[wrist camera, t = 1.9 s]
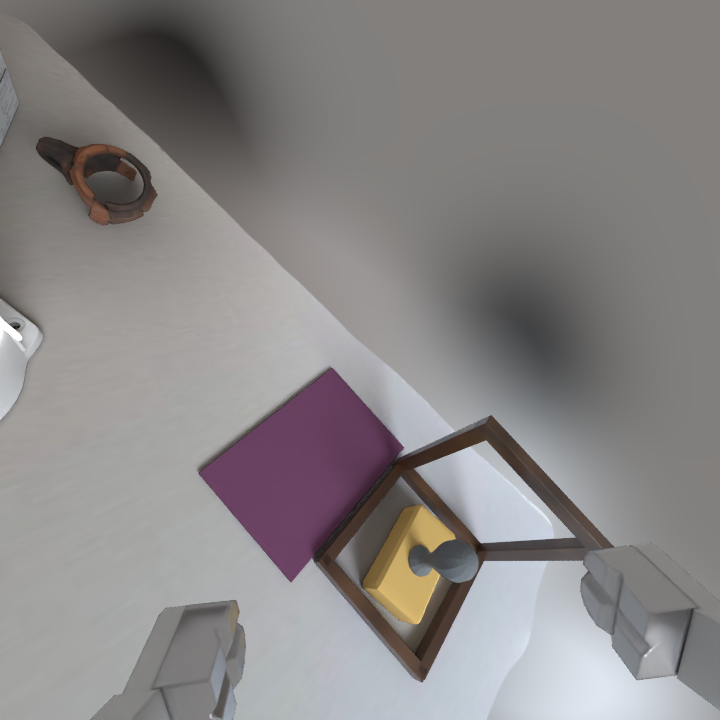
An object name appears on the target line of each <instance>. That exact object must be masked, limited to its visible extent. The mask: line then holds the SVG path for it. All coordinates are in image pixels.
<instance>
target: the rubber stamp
mask: <svg viewBox="0 0 720 720" xmlns="http://www.w3.org/2000/svg"><path fill="white" fill-rule="evenodd" d="M478 564H479V561H478V557H477V554H476V552H475V551H474V549H473V548H472V547H471V545H469V544H468V543H466V542H464V541H462V540H459V539H455V534H454V533H453V532H452V531H450V530H449V529H448V528H447V527H446V526H445V525H444V524H443V523H442V522H441V521H439V520H438V519H437V518H436V517H435V516H434V515H433V514H432V513H431V512H429V511H428V510H427V509H426V508H425V507H424V506H423V505H422V504H419V505H414V506H410V507H406V508H403V510H402V512H401V514H400V516H399V518H398V519H397V521H396V523H395V525H394V527H393V528H392V530H391V532H390V534H389V536H388V537H387V539H386V541H385V543H384V545H383V546H382V548H381V550H380V552H379V554H378V556H377V557H376V559H375V561H374V563H373V565H372V566H371V568H370V570H369V572H368V574H367V575H366V577H365V579H364V581H363V586H362V588H363V589H365V590H366V591H367V592H368V593H369V594H370V595H371V596H372V597H373V598H375V599H376V600H377V601H378V602H379V603H380V604H381V605H382V606H383V607H385V608H386V609H387V610H388V611H389V612H390V613H391V614H392V615H393V616H395V617H396V618H397V619H398V620H400V621H403V622H407V623H411V624H418V623H420V621H421V619H422V616H423V614H424V612H425V609H426V607H427V605H428V602H429V600H430V598H431V595H432V593H433V591H434V588H435V586H436V584H437V581H438V579H439V576H440V575H441V576H443V577H444V578H446V579H449V580H451V581H453V582H456V583H460V582H464V581H468V580H471V579H472V578H473V577H474V575H475V574H476V572H477V570H478Z"/></svg>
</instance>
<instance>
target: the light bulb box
mask: <svg viewBox="0 0 720 720" xmlns="http://www.w3.org/2000/svg"><path fill="white" fill-rule="evenodd" d="M18 105H19V102H18V100H17V97H16V94H15V91H14V88H13V85H12V82H11V79H10V76H9V73H8V70H7V67H6V64H5V61H4V58H3V55H2V53H1V50H0V146H1V144H2V142H3V139H4V137H5V135H6V132H7V130H8V128H9V126H10V123H11V121H12V119H13V116H14V114H15V112H16V110H17V107H18Z"/></svg>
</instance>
